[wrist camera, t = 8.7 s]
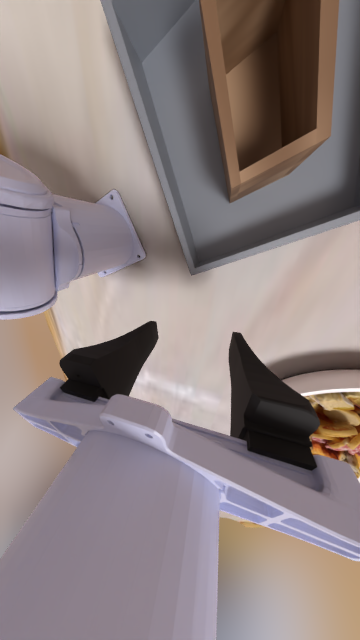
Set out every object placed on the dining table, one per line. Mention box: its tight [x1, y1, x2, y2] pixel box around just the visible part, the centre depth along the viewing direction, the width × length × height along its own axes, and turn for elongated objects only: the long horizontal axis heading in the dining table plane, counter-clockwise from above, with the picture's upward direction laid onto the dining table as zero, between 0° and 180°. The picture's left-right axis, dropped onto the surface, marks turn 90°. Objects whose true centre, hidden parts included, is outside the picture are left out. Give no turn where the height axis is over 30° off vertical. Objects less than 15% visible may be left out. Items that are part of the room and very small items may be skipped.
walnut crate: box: [199, 0, 339, 203], centre depth 9 cm, size 5×8×6 cm, turn 22°
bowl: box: [282, 370, 360, 483], centre depth 23 cm, size 30×30×8 cm
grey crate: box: [100, 0, 360, 276], centre depth 11 cm, size 15×17×4 cm
